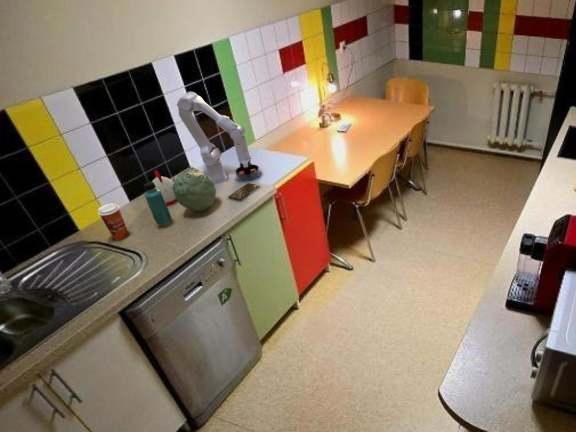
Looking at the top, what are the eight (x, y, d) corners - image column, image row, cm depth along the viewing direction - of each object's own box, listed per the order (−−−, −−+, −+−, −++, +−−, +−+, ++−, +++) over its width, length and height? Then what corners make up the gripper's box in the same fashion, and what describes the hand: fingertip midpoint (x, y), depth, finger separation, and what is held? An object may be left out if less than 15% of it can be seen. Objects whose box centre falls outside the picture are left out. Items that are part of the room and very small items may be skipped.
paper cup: (117, 243, 171) (103, 214, 164) (107, 238, 175) (92, 209, 167) (135, 233, 177) (122, 205, 169) (125, 228, 180) (112, 200, 173)
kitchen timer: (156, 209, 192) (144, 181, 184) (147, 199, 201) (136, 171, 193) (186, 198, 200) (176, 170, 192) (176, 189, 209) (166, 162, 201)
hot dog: (239, 178, 214) (238, 173, 212) (239, 176, 216) (238, 171, 214) (257, 175, 216) (256, 169, 214) (257, 172, 218) (255, 167, 217)
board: (240, 200, 195) (239, 198, 195) (228, 198, 198) (228, 196, 197) (259, 187, 206) (259, 185, 205) (248, 185, 208) (247, 182, 208)
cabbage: (227, 198, 198) (215, 160, 187) (207, 220, 182) (193, 180, 171) (196, 197, 200) (183, 159, 189) (174, 219, 185) (158, 179, 174)
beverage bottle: (176, 221, 183) (161, 180, 172) (165, 229, 178) (148, 188, 167) (165, 219, 185) (148, 178, 174) (153, 227, 180) (136, 186, 169)
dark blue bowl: (237, 184, 210) (235, 176, 208) (236, 174, 220) (234, 167, 217) (261, 179, 213) (260, 171, 211) (259, 169, 223) (257, 162, 220)
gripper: (251, 153, 203) (257, 178, 211) (249, 143, 215) (254, 167, 222) (236, 156, 202) (243, 181, 209) (234, 145, 213) (241, 169, 221)
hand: (248, 174), depth 216 cm, fingers closed on hot dog, 3 cm apart
